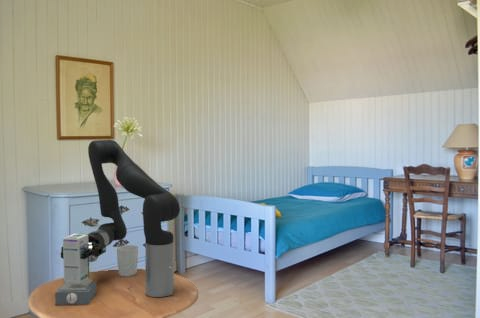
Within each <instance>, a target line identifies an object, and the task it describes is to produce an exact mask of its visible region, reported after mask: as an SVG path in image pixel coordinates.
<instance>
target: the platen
mask: <svg viewBox="0 0 480 318" xmlns="http://www.w3.org/2000/svg"><path fill="white" fill-rule="evenodd" d="M92 281H93V279H85V280H84V281H82V282H81V283H70V282H63V284H61V286H62V287H61V286H60V287H61V288H60V287H59V288H60V291H86V290H87V289H88V287H89V286H90V285H91V283H92Z"/></svg>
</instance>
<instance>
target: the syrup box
mask: <svg viewBox="0 0 480 318" xmlns="http://www.w3.org/2000/svg"><path fill="white" fill-rule="evenodd" d="M88 234H89V233H88ZM88 234H86V233H72V234H69V235H68V236H65V237H62V247H63V281H64V282H63V283H65V282H70V283H81V282H82V281H84V280H88V278H89V279H90V257H88V258H86V259H82V253H83V252H84V251H86V250H88V249H89V242H88Z"/></svg>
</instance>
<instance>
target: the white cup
mask: <svg viewBox="0 0 480 318" xmlns="http://www.w3.org/2000/svg"><path fill="white" fill-rule="evenodd" d="M138 257H139V246H137V245H133V244H127V245H119V246H118V247H116V260H117V270H118V275H119V276H121V277H132V276H135V275H137V272H138V271H137V269H138V263H139V261H138V260H139V258H138Z"/></svg>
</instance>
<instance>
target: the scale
mask: <svg viewBox="0 0 480 318" xmlns="http://www.w3.org/2000/svg"><path fill="white" fill-rule="evenodd" d="M61 287H62V285H61V286H60V287H59V288H58V289H57V290H55V292H54V293H55V295H54V297H55V306H67V305H69V306H72V305H73V306H74V305H77V306H78V305H80V306H81V305H90V303H91V301H92V300H93V298H94V297H95V295H96V294H97V280H92V283H91V285H90V286H89V287H88V289H87V290H86V291H60V288H61Z"/></svg>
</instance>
